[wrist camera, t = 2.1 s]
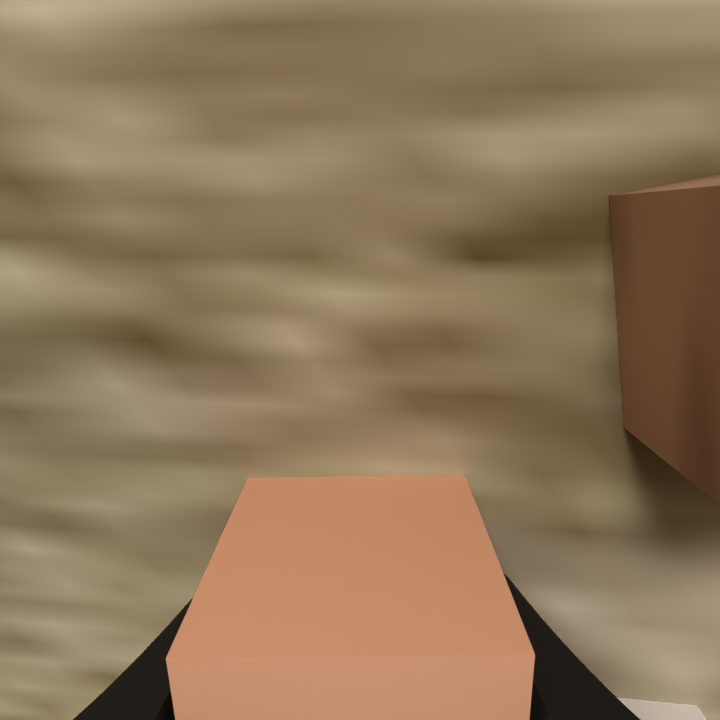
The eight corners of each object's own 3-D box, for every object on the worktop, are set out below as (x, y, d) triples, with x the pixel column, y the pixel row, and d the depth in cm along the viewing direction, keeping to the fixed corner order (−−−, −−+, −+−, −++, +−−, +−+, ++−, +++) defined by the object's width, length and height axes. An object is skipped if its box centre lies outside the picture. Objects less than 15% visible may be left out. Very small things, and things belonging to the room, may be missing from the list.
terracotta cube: (464, 474, 12) (535, 655, 7) (458, 650, 13) (513, 905, 8) (248, 477, 12) (166, 658, 7) (263, 652, 13) (204, 906, 8)
